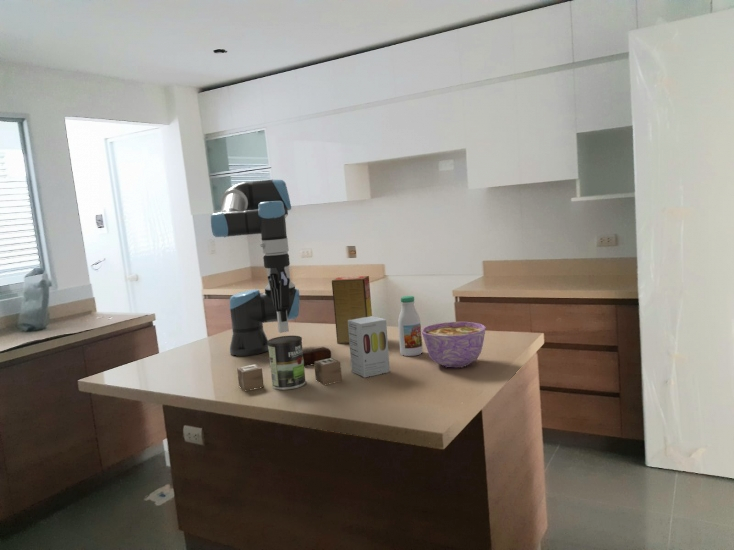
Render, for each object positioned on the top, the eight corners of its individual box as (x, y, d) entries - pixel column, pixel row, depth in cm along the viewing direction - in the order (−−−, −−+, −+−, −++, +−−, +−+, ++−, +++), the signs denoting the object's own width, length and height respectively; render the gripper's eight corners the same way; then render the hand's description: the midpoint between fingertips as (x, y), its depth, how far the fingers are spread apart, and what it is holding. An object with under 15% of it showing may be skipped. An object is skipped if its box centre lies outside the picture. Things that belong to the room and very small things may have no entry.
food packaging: (374, 337, 222) (369, 275, 219) (369, 342, 213) (364, 278, 210) (342, 338, 225) (337, 277, 223) (336, 343, 216) (330, 280, 214)
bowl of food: (438, 354, 189) (436, 320, 188) (496, 357, 179) (494, 322, 178) (413, 371, 172) (410, 334, 171) (475, 376, 162) (473, 337, 160)
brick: (303, 367, 187) (302, 353, 187) (299, 365, 191) (297, 351, 190) (332, 361, 192) (330, 347, 192) (327, 358, 196) (325, 345, 195)
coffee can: (312, 381, 170) (308, 336, 169) (291, 391, 162) (286, 344, 160) (287, 378, 176) (282, 334, 174) (264, 388, 167) (260, 342, 166)
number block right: (316, 380, 171) (314, 360, 170) (333, 376, 174) (332, 357, 173) (323, 385, 165) (321, 364, 165) (342, 381, 168) (340, 360, 167)
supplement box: (363, 378, 169) (359, 324, 167) (350, 371, 177) (346, 319, 175) (391, 371, 173) (386, 318, 171) (377, 365, 181) (372, 315, 179)
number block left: (239, 387, 171) (236, 367, 170) (258, 382, 174) (255, 363, 173) (244, 391, 166) (242, 371, 165) (263, 387, 168) (261, 367, 168)
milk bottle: (397, 356, 190) (392, 298, 188) (404, 350, 198) (400, 295, 195) (419, 357, 188) (414, 298, 185) (425, 351, 195) (421, 294, 192)
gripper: (257, 254, 168) (265, 330, 171) (270, 256, 157) (279, 337, 160) (280, 251, 172) (288, 326, 175) (295, 253, 160) (303, 333, 163)
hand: (283, 331), depth 167 cm, fingers closed
